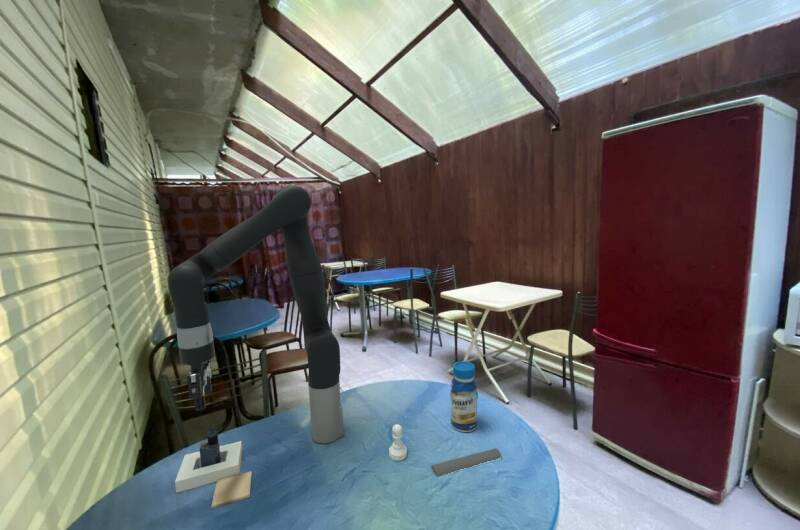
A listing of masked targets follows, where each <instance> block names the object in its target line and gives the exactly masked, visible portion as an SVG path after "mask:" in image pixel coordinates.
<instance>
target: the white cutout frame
mask: <svg viewBox="0 0 800 530" xmlns="http://www.w3.org/2000/svg"><path fill="white" fill-rule="evenodd" d="M242 442H243V441H242V440H240V441H235V442H231V443H228V444H223V445H219V448H220V457H221V463H218V464H214V465H210V466H206V467H202V466H201V459H200V451H199V450H198V451H196V452H192V453H188V454H185V455H184V457H183V458H182V459H183V460H182V462H181V465H180V467H179V470H178V472H177V474H176V477H175V480H174V484H175V491H176V492H175V493H180V492H181V493H182V492H185V491H187V490H188V491H189V490H191V489H195V488H200V487H202V486H205V485H210V484H213V483H217V481H218V480H221V479H225V478H229V477H232V476H236V475H239V474H241V465H242V457H243V450H244V449H243V443H242Z"/></svg>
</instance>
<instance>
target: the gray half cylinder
mask: <svg viewBox="0 0 800 530" xmlns="http://www.w3.org/2000/svg"><path fill="white" fill-rule="evenodd" d="M500 457H501V458H502V455H501V452H500V450H499V449H498V448H496V447H495V448H492V449H491V448H490V449H489V450H487V449H486V450H485V451H480V452H476V453H473V454H470V455H465V456H462V457H457V458H454V459H451V460H446V461H442V462H439V463H435V464H431V467H432V469H433V473H435V475H436V477H437V478H438V477H442V475H443V476H445V475H444V474H446V475H449V474H448V473H450V474H452V473H451V472H454V471H457V470H460V469H464V468H468V469H470V468H469V467H472V466H474V465H478V464H480V463H484V462H487V461H491V460H496V459H498V458H500ZM472 468H473V467H472ZM457 472H458V471H457ZM454 473H455V472H454Z"/></svg>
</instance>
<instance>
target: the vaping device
mask: <svg viewBox="0 0 800 530" xmlns="http://www.w3.org/2000/svg"><path fill="white" fill-rule="evenodd" d="M219 446H220V443H219V436H218V430H217V429H215V428H214V427H213V428H210V429H209V431H208V432H207V434H206V439H203V440H202V441H201V442H200V446H199V450H198V452H199V451H200V459H201V466H202V467H206V466H210V465H214V464H218V463H222V462H221V457H220V448H219ZM202 467H201V468H202Z"/></svg>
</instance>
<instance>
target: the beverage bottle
mask: <svg viewBox="0 0 800 530" xmlns="http://www.w3.org/2000/svg"><path fill="white" fill-rule="evenodd" d="M452 374H453V378H452V380H451V382H450V388H451V389H450V392H449V395H450V397H451V398H450V401H451V402H450V407H451V409H450V411H451V412H450V413H451V416H450V424H451V426H452V428H454V429H455V430H456V431H459V432H461V433H471V432H472V431H473V432H474V430H476V428H477V426H478V417H477V416H478V399H479V398H478V397H479V396H478V395H479V393H478V391H477V390H478V383H477V380H475V377H476V366H475V364H474V363H472V362H470V361H466V360H461V361H456V362H454V363H453V365H452Z"/></svg>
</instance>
